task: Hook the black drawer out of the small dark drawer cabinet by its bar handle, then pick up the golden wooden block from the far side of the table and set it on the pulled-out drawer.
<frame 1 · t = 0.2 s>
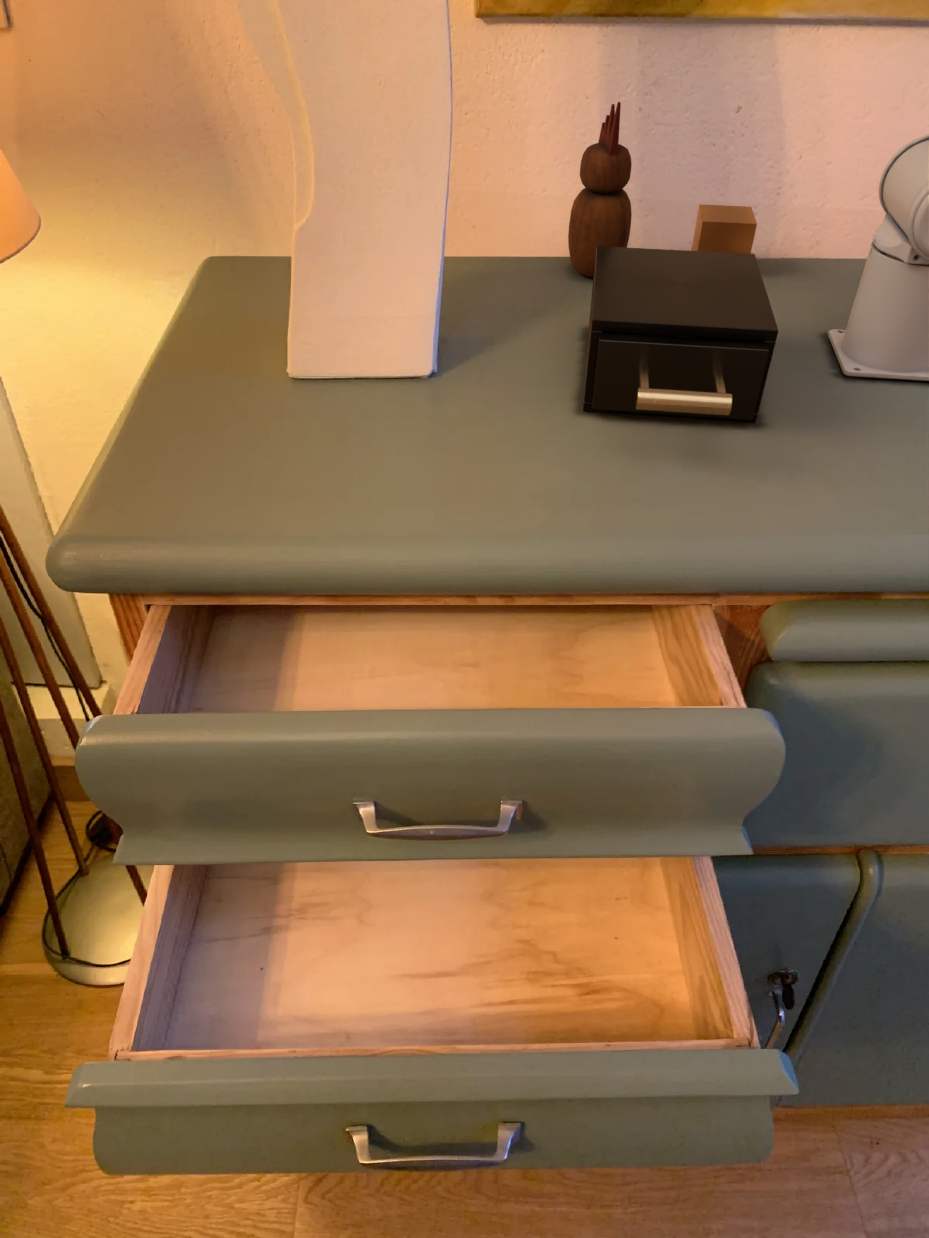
block: (717, 266, 88), on the table
dark drawer cabinet: (664, 372, 71), on the table
wooden figurine: (594, 273, 87), on the table
black drawer: (674, 356, 65), point 4 cm above the table, slide at 0.0 cm
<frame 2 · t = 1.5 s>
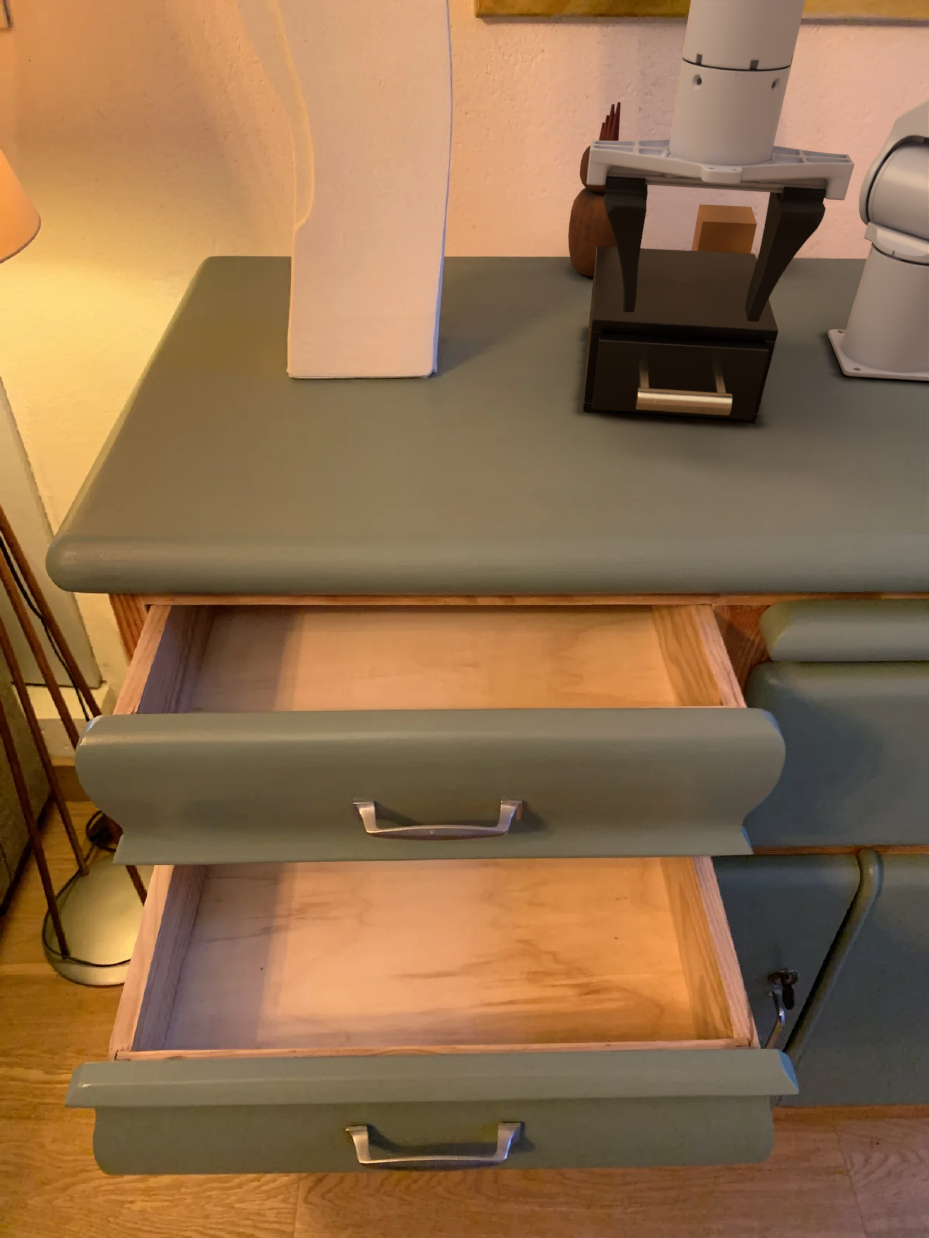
hand: (689, 311, 56), 10 cm above the table, tool pointing down, fingers open, 7 cm apart
nothing on the table moved.
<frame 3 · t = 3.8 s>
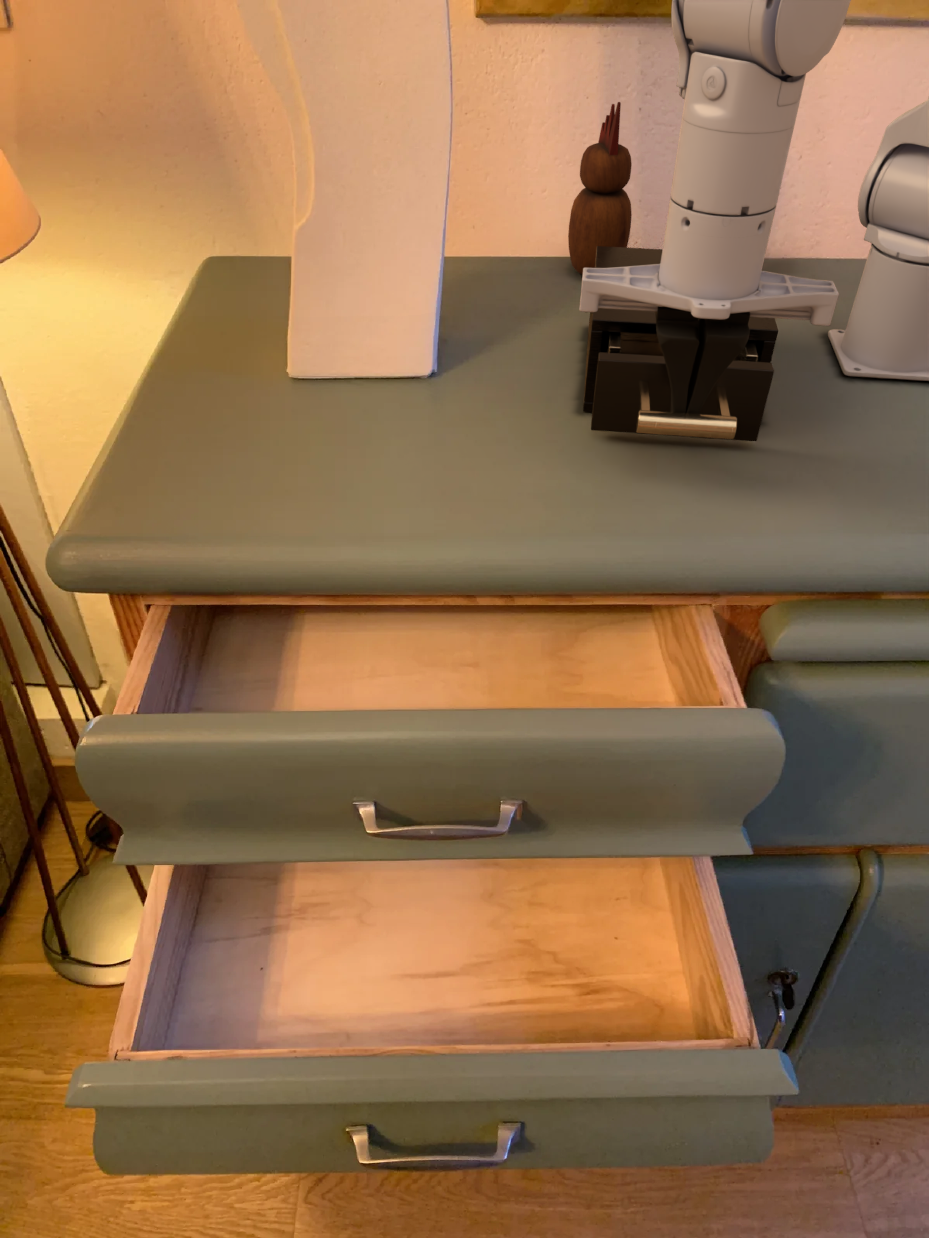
hand: (681, 421, 58), 4 cm above the table, tool pointing down, fingers closed, pressing on black drawer
black drawer: (676, 375, 63), point 4 cm above the table, slide at 3.0 cm, touching gripper
everything else where it was.
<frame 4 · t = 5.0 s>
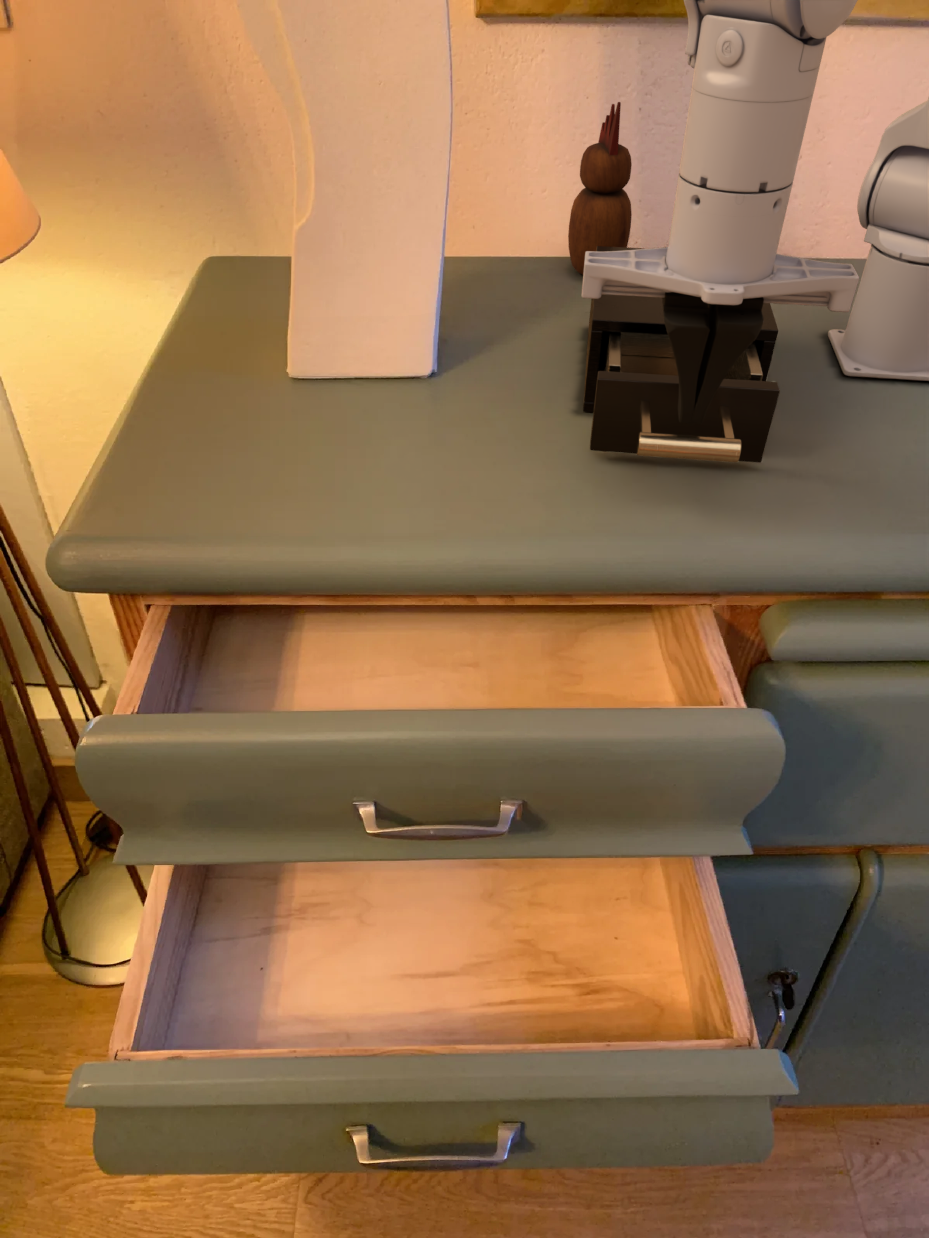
hand: (689, 415, 55), 6 cm above the table, tool pointing down, fingers closed
black drawer: (678, 393, 61), point 4 cm above the table, slide at 5.8 cm
everything else where it was.
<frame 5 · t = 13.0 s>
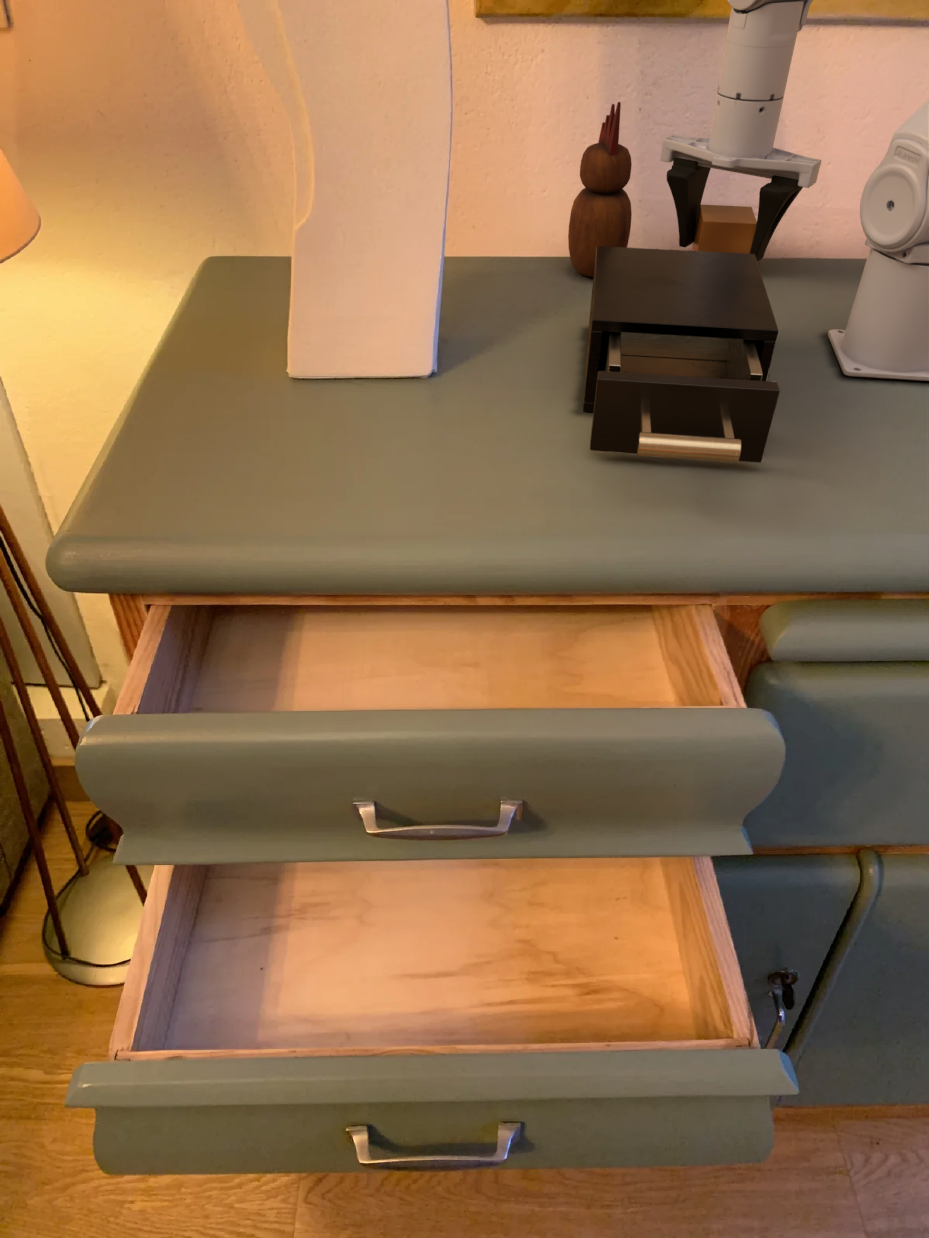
hand: (720, 252, 87), 1 cm above the table, tool pointing down, fingers closed on block, 7 cm apart
block: (717, 266, 88), on the table, touching gripper
everything else where it was.
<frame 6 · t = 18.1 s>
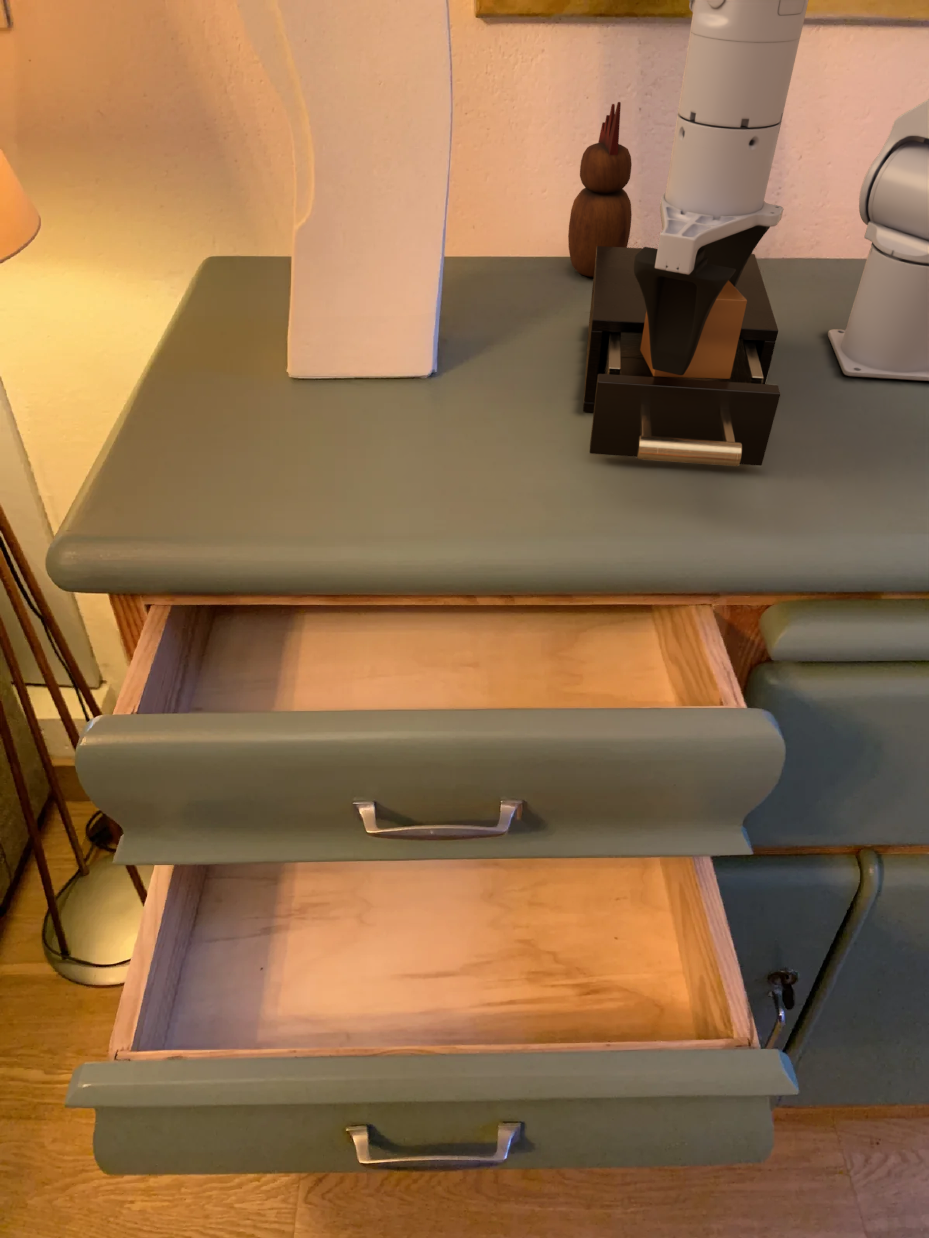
hand: (685, 348, 59), 7 cm above the table, tool pointing down, fingers closed on block, 7 cm apart
block: (683, 364, 59), point 6 cm above the table, tilted 6°, touching gripper, black drawer
black drawer: (678, 396, 61), point 4 cm above the table, slide at 6.2 cm, touching block
everything else where it was.
when the fingers open (6 cm above the table, at t = 18.7 s): block drops 3 cm, resting on black drawer.
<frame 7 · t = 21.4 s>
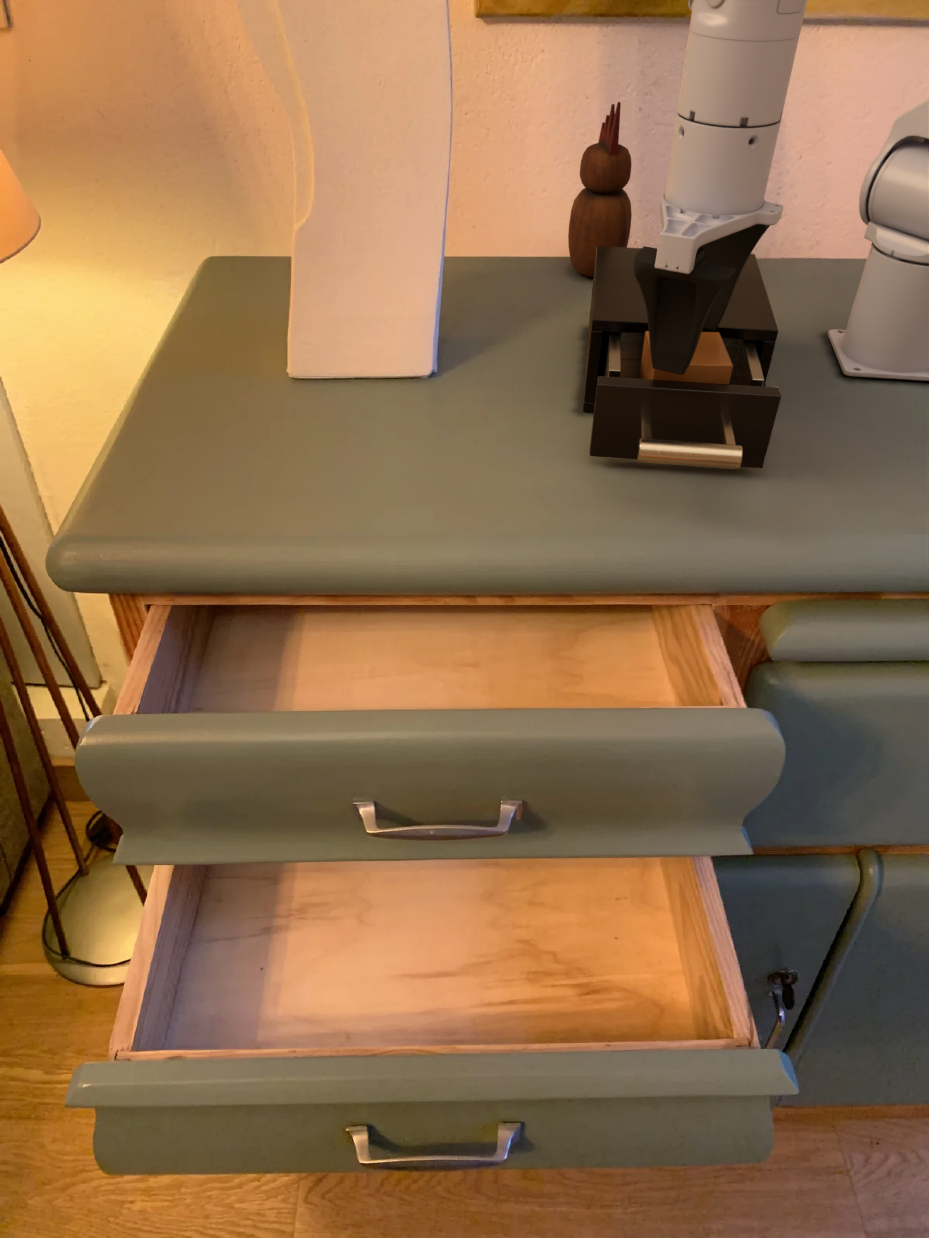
hand: (686, 347, 59), 7 cm above the table, tool pointing down, fingers open, 7 cm apart
block: (675, 415, 62), point 2 cm above the table, touching gripper, black drawer
black drawer: (678, 398, 61), point 4 cm above the table, slide at 6.5 cm, touching block
everything else where it was.
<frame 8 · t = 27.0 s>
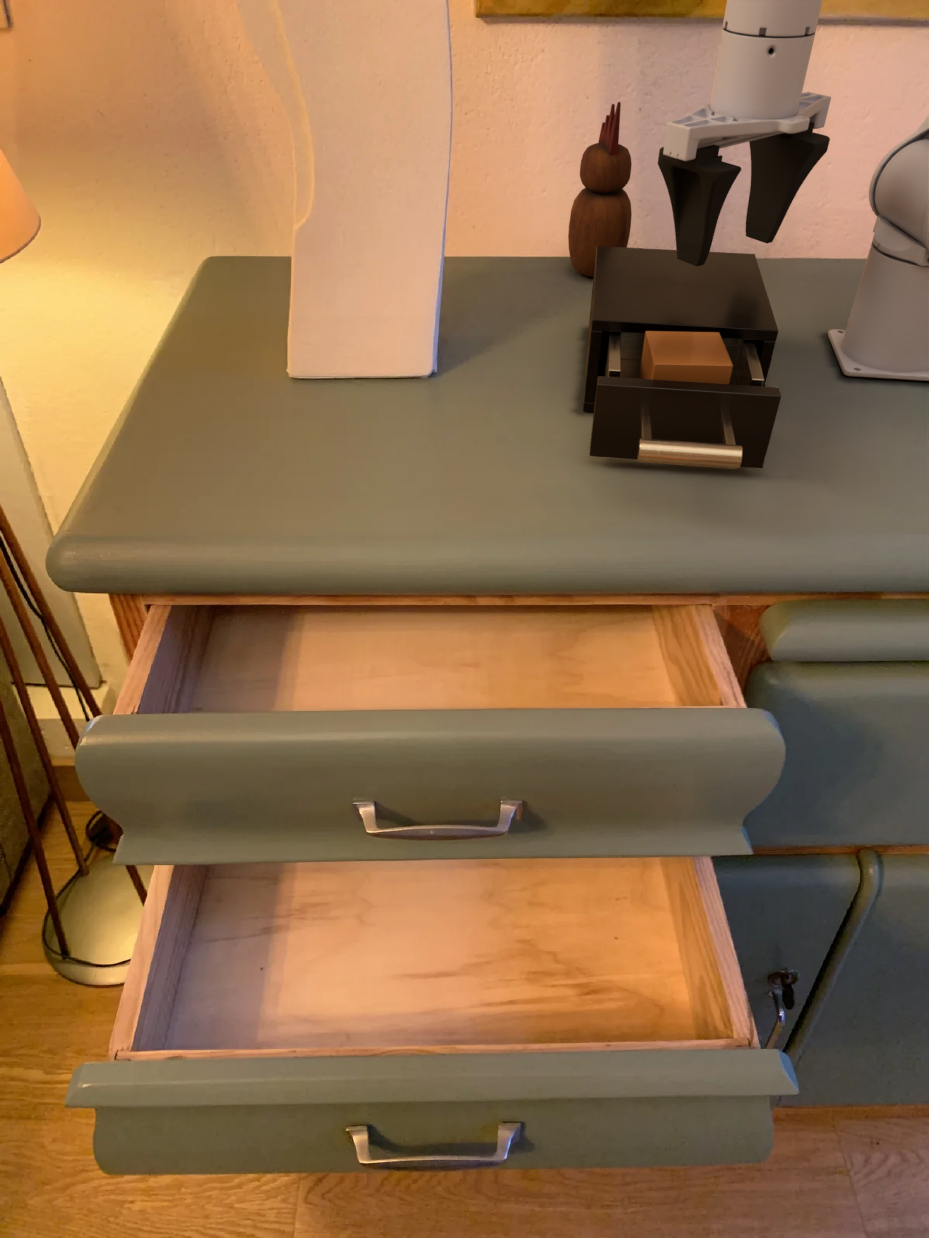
hand: (725, 250, 65), 9 cm above the table, tool pointing down, fingers open, 7 cm apart
block: (675, 415, 62), point 2 cm above the table, touching black drawer
everything else where it was.
at the end: black drawer slide at 6.5 cm; block inside the target area in the black drawer (0.2 cm from its centre), point 2.0 cm above the dark drawer cabinet's base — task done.
